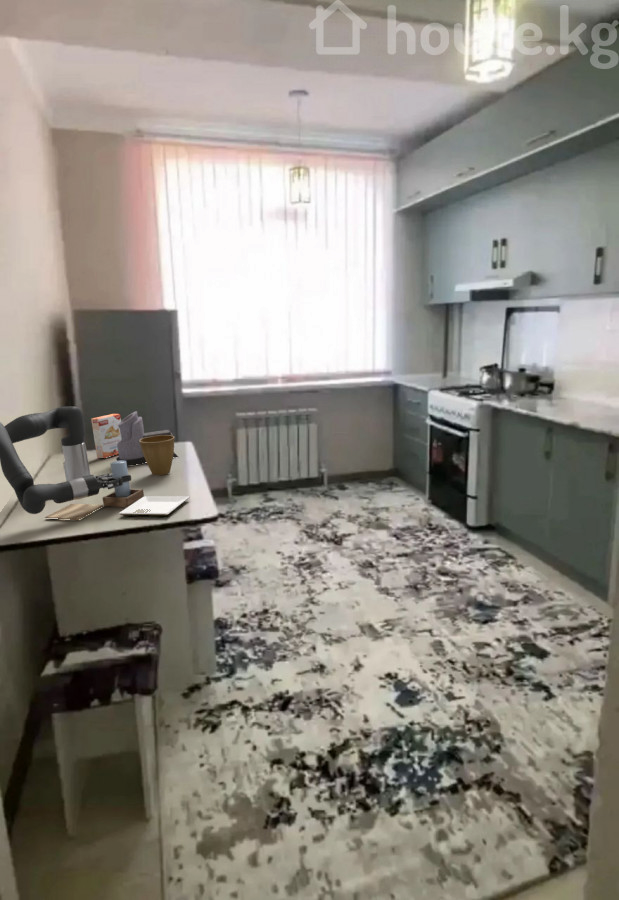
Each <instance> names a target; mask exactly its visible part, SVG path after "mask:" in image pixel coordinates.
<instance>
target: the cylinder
mask: <svg viewBox="0 0 619 900" xmlns="http://www.w3.org/2000/svg"><path fill="white" fill-rule="evenodd" d="M110 469H111V474H112V477H115V478H117V477H122V476H126V475H129V471H128V466H127V463H126V461H124V460H121V461H117V460H114V461H112V462H110ZM117 483H118V481H117ZM113 489H114V491H115V496H116V497H124V498H127V497H129V496H130V495H131V490H130V489H131V485H130V481H128V482H124V483H123V485H122V486H118V487H115V488H113Z"/></svg>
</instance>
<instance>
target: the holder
mask: <svg viewBox="0 0 619 900" xmlns="http://www.w3.org/2000/svg"><path fill="white" fill-rule="evenodd" d="M130 490H131V495H130V496H129V497H127V498H124V497H116V496H115V490H114V491H113V492H110V493H109V494H107V495H105V496H103V497H102V505H103V507H104V506H114V507H113V508H127V507H129V506H130V505H132V504H133V503H135V502H136V501H138V500H139V499H141V498H142V497H144V496H145V492H144V489H143V488H140V489H138V488H130ZM115 506H116V507H115ZM117 506H118V507H117Z"/></svg>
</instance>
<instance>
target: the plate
mask: <svg viewBox="0 0 619 900" xmlns="http://www.w3.org/2000/svg"><path fill="white" fill-rule="evenodd" d="M190 498H191V497H190V496H189V495H144V497H142V498H141V499H139V500H138V501H136V502H135V503H133V504H132V505H130V506H129V507H125V509H122V511H120V512H118V514H119V515H120V516H129V515H149V516H148V517H150V516H151V517H152V516H153V517H157V516H158V517H165V516H168V515H169V514H171V513H172V512H174V511H175V510H176V509H177V508H178V507H180V506H181V505H183V504H184V503H185V502H186V501H187V500H189V499H190ZM138 509H140V510H141V509H143V510H144V509H145V510H146V509H148V510H149V509H150V510H151V511H150V510H149V511H150V512H149V511H148V512H147V513H145V512H146V511H147V510H146V511H145V510H144V511H145V512H144V513H137V512H136V513H133V512H135V511H136V510H138Z"/></svg>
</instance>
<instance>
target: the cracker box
mask: <svg viewBox="0 0 619 900" xmlns="http://www.w3.org/2000/svg"><path fill="white" fill-rule="evenodd" d="M90 419H91V421H90V422H91V426H92V432H93V433H92V434H93V440H94V446H95V451H96V459H99V458H106V457H109V456H113V455H116V456H118V455H117V454H118V448H117V443H118V442H119V441H120V440H121V434H120V428H119V427H118V425H119V423H120V422H121V421H122V418H121V414H119V413H111V414H107V415H102V416H98V417H93V418H90ZM113 457H114V456H113ZM106 459H107V458H106Z"/></svg>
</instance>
